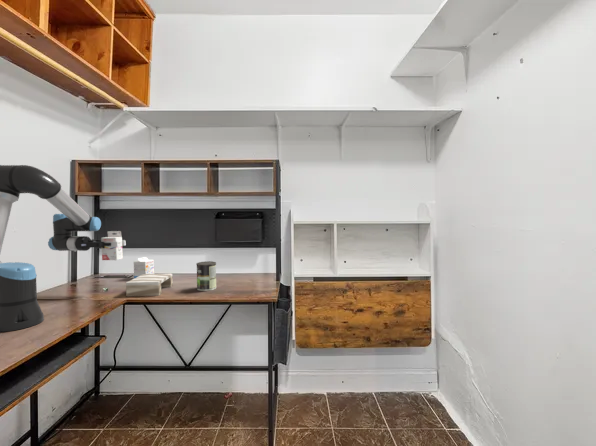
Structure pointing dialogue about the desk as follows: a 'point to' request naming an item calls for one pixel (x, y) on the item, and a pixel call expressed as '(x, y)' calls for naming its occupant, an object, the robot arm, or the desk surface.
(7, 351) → the desk surface
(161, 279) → the shelf bridge
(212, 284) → the coffee can
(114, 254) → the ink cartridge box
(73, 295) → the desk surface
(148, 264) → the ink box
